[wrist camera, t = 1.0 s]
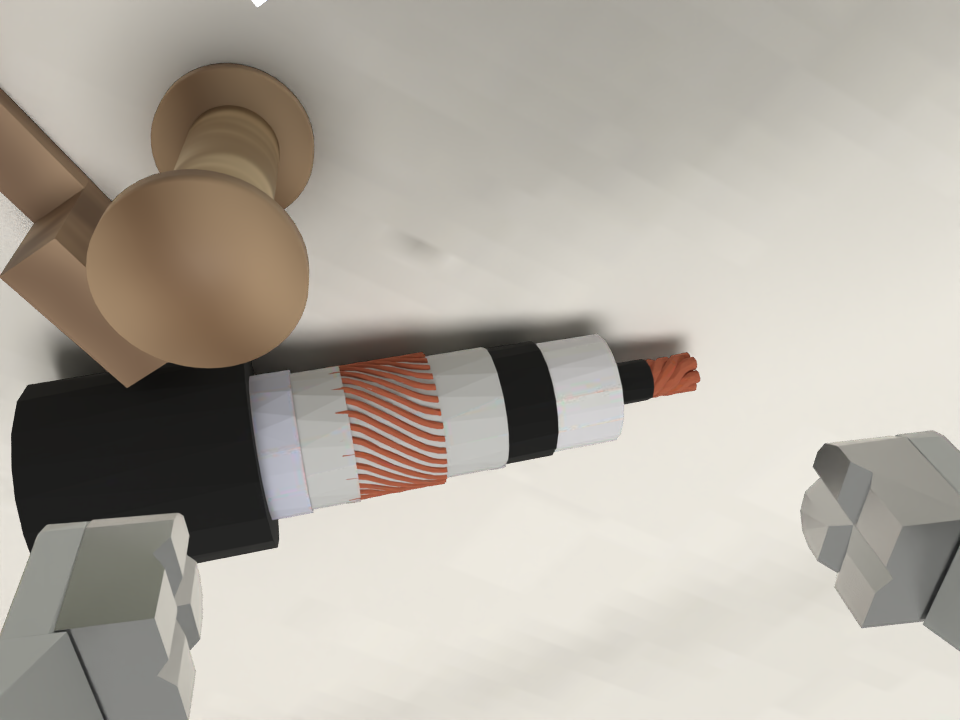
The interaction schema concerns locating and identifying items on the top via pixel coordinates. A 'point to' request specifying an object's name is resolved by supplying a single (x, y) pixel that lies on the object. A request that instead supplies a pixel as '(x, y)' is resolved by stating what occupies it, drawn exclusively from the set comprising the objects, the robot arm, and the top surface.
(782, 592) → the top surface
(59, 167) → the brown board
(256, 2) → the block
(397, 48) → the top surface
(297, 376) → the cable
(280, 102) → the bobbin
